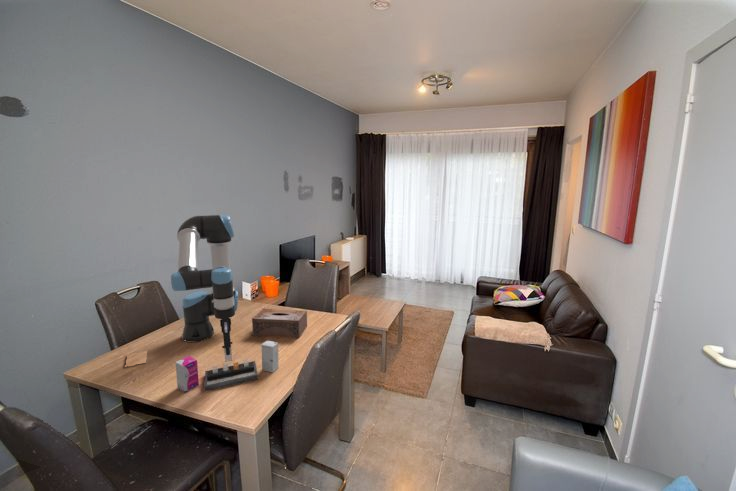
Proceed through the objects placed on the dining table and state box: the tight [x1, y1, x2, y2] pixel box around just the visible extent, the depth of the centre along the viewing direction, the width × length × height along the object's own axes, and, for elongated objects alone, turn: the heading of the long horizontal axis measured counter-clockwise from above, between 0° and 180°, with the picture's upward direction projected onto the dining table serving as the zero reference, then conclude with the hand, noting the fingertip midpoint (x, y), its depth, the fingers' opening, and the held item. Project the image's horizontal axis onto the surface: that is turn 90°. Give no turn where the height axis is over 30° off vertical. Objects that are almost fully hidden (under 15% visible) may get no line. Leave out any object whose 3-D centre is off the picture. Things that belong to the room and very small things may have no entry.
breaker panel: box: [203, 359, 259, 392], centre depth 136 cm, size 20×12×6 cm, turn 114°
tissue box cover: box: [251, 308, 308, 339], centre depth 180 cm, size 26×14×10 cm, turn 84°
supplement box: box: [175, 355, 200, 393], centre depth 129 cm, size 6×6×12 cm
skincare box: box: [261, 340, 280, 373], centre depth 142 cm, size 6×4×12 cm
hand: (228, 360), depth 135 cm, fingers closed
